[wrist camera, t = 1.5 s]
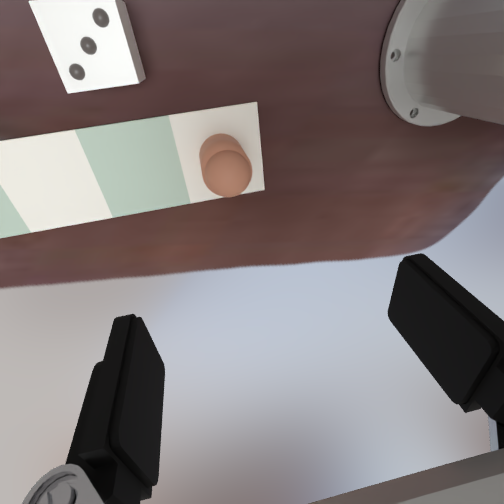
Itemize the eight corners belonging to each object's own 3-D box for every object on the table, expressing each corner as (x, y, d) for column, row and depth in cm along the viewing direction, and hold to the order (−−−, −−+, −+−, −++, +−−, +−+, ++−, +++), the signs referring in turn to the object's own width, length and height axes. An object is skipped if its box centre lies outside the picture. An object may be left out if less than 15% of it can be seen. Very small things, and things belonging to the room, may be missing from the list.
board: (256, 101, 25) (257, 102, 25) (264, 188, 29) (264, 189, 29) (-129, 160, 22) (-132, 161, 22) (-53, 246, 27) (-55, 248, 26)
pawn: (240, 130, 26) (254, 150, 20) (245, 173, 28) (259, 201, 23) (194, 137, 25) (198, 160, 20) (204, 180, 28) (209, 211, 22)
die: (125, 2, 20) (110, -10, 16) (146, 78, 23) (138, 83, 19) (57, 10, 20) (25, 0, 16) (86, 86, 22) (65, 94, 18)
